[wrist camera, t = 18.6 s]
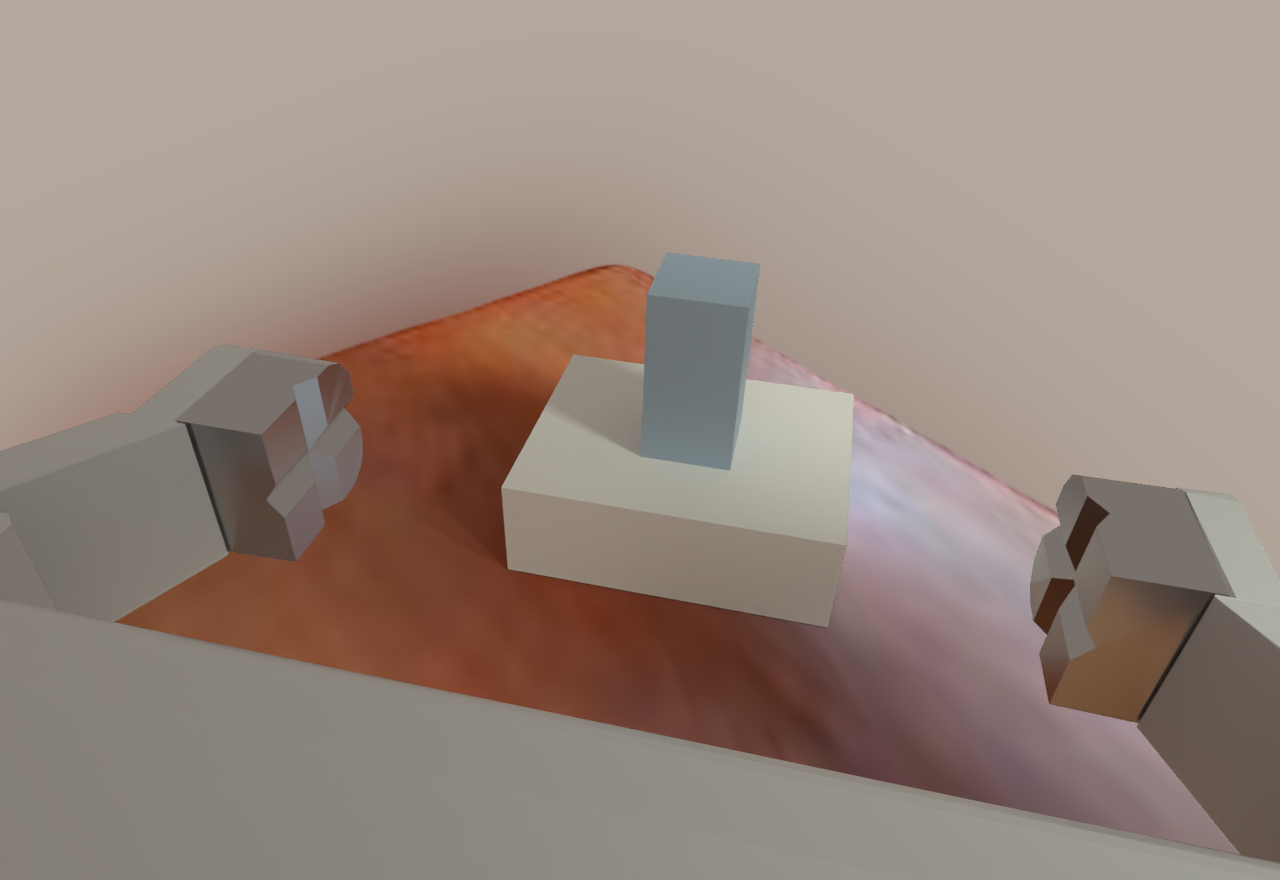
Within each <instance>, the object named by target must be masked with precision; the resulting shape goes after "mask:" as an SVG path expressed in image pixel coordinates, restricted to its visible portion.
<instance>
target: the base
mask: <svg viewBox="0 0 1280 880" xmlns="http://www.w3.org/2000/svg"><path fill="white" fill-rule="evenodd" d="M643 386H644V365H643V364H636V363H629V362H622V361H615V360H608V359H601V358H594V357H587V356H580V355H573V357H572V359H571V361H570V362H569V364H568V366H567V368H566V370H565V372H564V373H563V375H562V377H561V379H560V381H559V383H558V384H557V386H556V388H555V390H554V392H553V394H552V395H551V397H550V399H549V401H548V403H547V405H546V406H545V408H544V410H543V412H542V414H541V416H540V417H539V419H538V421H537V423H536V425H535V427H534V428H533V430H532V432H531V434H530V436H529V438H528V439H527V441H526V443H525V445H524V447H523V449H522V450H521V452H520V454H519V456H518V458H517V460H516V461H515V463H514V465H513V467H512V469H511V471H510V472H509V474H508V476H507V478H506V480H505V482H504V483H503V485H502V487H501V491H502V503H503V516H504V528H505V541H506V553H507V566H508V569H510V570H515V571H521V572H526V573H532V574H537V575H543V576H548V577H554V578H559V579H565V580H570V581H576V582H581V583H587V584H592V585H597V586H603V587H608V588H614V589H619V590H625V591H630V592H636V593H641V594H647V595H652V596H658V597H663V598H669V599H674V600H680V601H685V602H690V603H696V604H701V605H707V606H712V607H718V608H723V609H729V610H734V611H740V612H745V613H751V614H756V615H762V616H767V617H773V618H778V619H784V620H789V621H794V622H800V623H805V624H811V625H816V626H822V627H827V628H828V625H829V620H830V616H831V612H832V607H833V603H834V599H835V594H836V590H837V586H838V581H839V577H840V573H841V568H842V564H843V560H844V555H845V551H846V547H847V529H848V508H849V487H850V466H851V444H852V423H853V402H854V394H847V393H840V392H833V391H826V390H819V389H812V388H805V387H798V386H791V385H784V384H777V383H770V382H763V381H756V380H749V379H746V385H745V393H744V401H743V410H742V418H741V423H740V428H739V432H738V437H737V441H736V446H735V450H734V455H733V459H732V464H731V468H730V471H729V470H722V469H716V468H710V467H703V466H697V465H691V464H684V463H678V462H672V461H665V460H659V459H653V458H646V457H641V436H642V411H643Z"/></svg>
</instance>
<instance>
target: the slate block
mask: <svg viewBox="0 0 1280 880" xmlns="http://www.w3.org/2000/svg"><path fill="white" fill-rule="evenodd" d="M759 268H760V264H756V263H748V262H740V261H732V260H724V259H715V258H707V257H698V256H691V255H682V254H674V253H666V255H665V257H664V259H663V261H662V263H661V266H660V268H659V270H658V272H657V274H656V276H655V279H654V281H653V283H652V285H651V287H650V289H649V292H648V294H647V310H646V335H645V361H644V386H643V411H642V436H641V457H646V458H653V459H659V460H665V461H672V462H678V463H684V464H691V465H697V466H703V467H710V468H716V469H722V470H729V471H730V468H731V464H732V459H733V455H734V450H735V446H736V441H737V437H738V432H739V428H740V423H741V418H742V410H743V401H744V393H745V385H746V377H747V368H748V360H749V352H750V343H751V335H752V327H753V318H754V310H755V302H756V294H757V285H758V277H759Z"/></svg>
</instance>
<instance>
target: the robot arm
mask: <svg viewBox="0 0 1280 880" xmlns="http://www.w3.org/2000/svg"><path fill="white" fill-rule="evenodd" d="M353 396H354V393H353V388H352V384H351V380H350V376H349V371H348V370H346V369H345V368H344V367H343V366H342V365H340V364H339V363H335V362H329V361H323V360H317V359H311V358H306V357H300V356H294V355H289V354H282V353H277V352H271V351H261V350H259V349H253V348H246V347H240V346H233V345H222V346H214V347H213V348H212V349H210V350H209V351H208V352H207V353H205V354H204V355H203V356H202V357H200V358H199V359H198V360H197V361H196V362H194V363H193V364H192V365H191V366H190V367H188V368H187V369H186V370H185V371H183V372H182V373H181V374H180V375H179V376H177V377H176V378H175V379H174V380H172V381H171V382H170V383H169V384H168V385H166V386H165V387H164V388H163V389H162V390H160V391H159V392H158V393H157V394H156V395H154V396H153V397H152V398H151V399H150V400H148V401H147V402H146V403H145V404H143V405H142V406H141V407H140V408H138V409H137V410H136V411H135V412H134V413H132V414H123V413H117V414H114V415H110V416H108V417H104V418H101V419H98V420H95V421H92V422H89V423H86V424H83V425H80V426H77V427H74V428H71V429H67V430H64V431H61V432H58V433H55V434H52V435H49V436H46V437H43V438H40V439H37V440H34V441H31V442H28V443H25V444H21V445H19V446H15V447H12V448H9V449H6V450H3V451H0V880H1280V579H1279V577H1278V575H1277V573H1276V571H1275V569H1274V567H1273V565H1272V563H1271V561H1270V559H1269V557H1268V556H1267V554H1266V552H1265V550H1264V548H1263V546H1262V544H1261V542H1260V540H1259V538H1258V536H1257V534H1256V532H1255V530H1254V528H1253V526H1252V525H1251V523H1250V521H1249V519H1248V517H1247V515H1246V513H1245V511H1244V509H1243V507H1242V505H1241V503H1240V502H1239V501H1238V500H1237V499H1236V498H1234V497H1233V496H1231V495H1230V494H1223V493H1215V492H1207V491H1198V490H1190V489H1181V488H1176V489H1173V488H1165V487H1158V486H1151V485H1143V484H1137V483H1129V482H1122V481H1114V480H1107V479H1100V478H1092V477H1085V476H1079V475H1072V476H1071V477H1070V478H1069V480H1068V481H1067V482H1066V484H1065V485H1064V486H1063V489H1062V491H1061V494H1060V496H1059V498H1058V501H1057V503H1056V507H1057V512H1058V516H1059V520H1060V524H1061V525H1060V526H1059V527H1057V528H1055V529H1054V530H1052V531H1051V532H1049V533H1047V534H1046V535H1044V536H1043V537H1042V540H1041V543H1040V546H1039V548H1038V551H1037V554H1036V557H1035V559H1034V565H1033V571H1032V576H1031V582H1030V603H1031V609H1032V615H1033V621H1034V622H1035V623H1036V624H1037V625H1038V626H1039V627H1040V628H1041V629H1042V630H1043V631H1044V632H1045V633H1046V634H1047V637H1046V639H1045V642H1044V644H1043V646H1042V648H1041V651H1040V653H1039V654H1040V659H1041V664H1042V669H1043V674H1044V680H1045V685H1046V690H1047V695H1048V700H1049V704H1051V705H1056V706H1061V707H1065V708H1070V709H1075V710H1079V711H1084V712H1089V713H1093V714H1098V715H1103V716H1107V717H1112V718H1117V719H1121V720H1126V721H1131V722H1135V723H1139V724H1138V725H1137V727H1138V729H1139V730H1140V731H1141V732H1142V734H1143V735H1144V736H1145V737H1146V738H1147V740H1148V741H1149V742H1150V743H1151V745H1152V746H1153V747H1154V748H1155V750H1156V751H1157V752H1158V753H1159V754H1160V756H1161V757H1162V758H1163V759H1164V761H1165V762H1166V763H1167V764H1168V766H1169V767H1170V768H1171V769H1172V770H1173V772H1174V773H1175V774H1176V775H1177V777H1178V778H1179V779H1180V780H1181V782H1182V783H1183V784H1184V785H1185V786H1186V788H1187V789H1188V790H1189V791H1190V793H1191V794H1192V795H1193V796H1194V798H1195V799H1196V800H1197V801H1198V802H1199V804H1200V805H1201V806H1202V807H1203V809H1204V810H1205V811H1206V812H1207V814H1208V815H1209V816H1210V817H1211V818H1212V820H1213V821H1214V822H1215V823H1216V825H1217V826H1218V827H1219V828H1220V830H1221V831H1222V832H1223V833H1224V834H1225V836H1226V837H1227V838H1228V839H1229V841H1230V842H1231V843H1232V844H1233V846H1234V847H1235V848H1236V849H1237V850H1238V852H1239V853H1240V854H1241V855H1239V854H1234V853H1229V852H1224V851H1219V850H1214V849H1210V848H1205V847H1200V846H1195V845H1190V844H1185V843H1181V842H1176V841H1171V840H1166V839H1161V838H1156V837H1151V836H1146V835H1142V834H1137V833H1132V832H1127V831H1122V830H1117V829H1112V828H1107V827H1102V826H1097V825H1093V824H1088V823H1083V822H1078V821H1073V820H1068V819H1063V818H1058V817H1053V816H1048V815H1044V814H1039V813H1034V812H1029V811H1024V810H1019V809H1014V808H1009V807H1004V806H999V805H995V804H990V803H985V802H980V801H975V800H970V799H965V798H961V797H956V796H951V795H946V794H941V793H937V792H932V791H927V790H922V789H918V788H913V787H908V786H903V785H898V784H894V783H889V782H884V781H879V780H874V779H870V778H865V777H860V776H855V775H850V774H846V773H841V772H836V771H831V770H826V769H822V768H817V767H812V766H807V765H802V764H798V763H793V762H788V761H783V760H778V759H774V758H769V757H764V756H759V755H754V754H750V753H745V752H740V751H735V750H731V749H726V748H721V747H716V746H711V745H707V744H702V743H697V742H692V741H687V740H683V739H678V738H673V737H668V736H663V735H658V734H653V733H649V732H644V731H639V730H634V729H629V728H624V727H619V726H615V725H610V724H605V723H600V722H595V721H590V720H585V719H581V718H576V717H571V716H566V715H561V714H556V713H551V712H547V711H542V710H537V709H532V708H527V707H522V706H517V705H513V704H508V703H503V702H498V701H493V700H488V699H483V698H479V697H474V696H469V695H464V694H459V693H454V692H449V691H445V690H440V689H435V688H430V687H425V686H420V685H415V684H411V683H406V682H401V681H396V680H391V679H386V678H381V677H377V676H372V675H367V674H362V673H357V672H352V671H348V670H343V669H338V668H333V667H328V666H323V665H319V664H314V663H309V662H304V661H299V660H294V659H289V658H285V657H280V656H275V655H270V654H265V653H260V652H256V651H251V650H246V649H241V648H236V647H231V646H227V645H222V644H217V643H212V642H207V641H202V640H198V639H193V638H188V637H183V636H178V635H173V634H168V633H164V632H159V631H154V630H149V629H144V628H139V627H135V626H130V625H125V624H120V623H115V621H117V620H118V619H120V618H122V617H124V616H125V615H127V614H129V613H130V612H132V611H134V610H135V609H137V608H139V607H141V606H142V605H144V604H146V603H147V602H149V601H151V600H152V599H154V598H156V597H158V596H159V595H161V594H163V593H164V592H166V591H168V590H169V589H171V588H173V587H175V586H176V585H178V584H180V583H181V582H183V581H185V580H186V579H188V578H190V577H191V576H193V575H195V574H197V573H198V572H200V571H202V570H203V569H205V568H207V567H208V566H210V565H212V564H214V563H215V562H217V561H219V560H220V559H222V558H224V557H225V556H227V555H228V551H230V552H236V553H243V554H249V555H255V556H262V557H268V558H274V559H280V560H287V561H293V562H297V560H298V559H299V558H300V556H301V555H302V554H303V552H304V551H305V550H306V549H307V547H308V546H309V545H310V543H311V542H312V541H313V539H314V538H315V537H316V535H317V534H318V533H319V532H320V530H321V529H322V528H323V526H324V525H325V521H324V516H323V512H322V510H323V509H325V508H327V507H329V506H332V505H334V504H336V503H338V502H340V501H342V500H344V498H345V497H346V496H347V494H348V493H349V491H350V490H351V489H352V487H353V486H354V484H355V482H356V479H357V476H358V473H359V470H360V467H361V464H362V454H363V441H362V435H361V429H360V426H359V424H358V423H357V422H356V421H355V420H354V418H353V417H352V416H351V415H350V414H349V413H348V411H347V410H346V409H345V408H346V406H347V405H348V404H349V402H350V401H351V399H352V398H353Z"/></svg>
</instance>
